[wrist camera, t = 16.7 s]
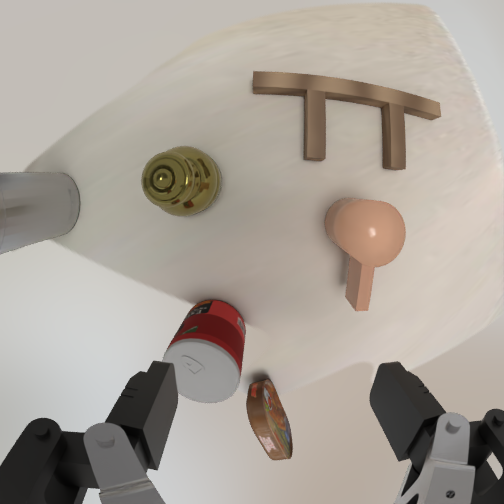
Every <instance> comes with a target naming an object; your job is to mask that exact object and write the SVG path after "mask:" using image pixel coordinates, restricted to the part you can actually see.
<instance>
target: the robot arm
mask: <svg viewBox="0 0 504 504" xmlns="http://www.w3.org/2000/svg"><path fill="white" fill-rule="evenodd" d="M79 205H80V201H79V194H78V190H77V187H76V185H75V183H74V181H73V180H72V179H71V178H70V177H69V176H68V175H66V174H64V173H45V172H12V173H10V172H9V173H0V254H3V253H6V252H9V251H12V250H15V249H18V248H21V247H24V246H27V245H31V244H34V243H37V242H40V241H44V240H47V239H51V238H54V237H57V236H61V235H64V234H66V233H68V232H69V231H70V230H71V229H72V228H73V226H74V225H75V223H76V220H77V218H78V214H79ZM177 404H178V390H177V383H176V376H175V368H174V364H173V363H168V362H160V361H153V362H152V364H151V366H150V368H149V369H148V371H147V372H141V371H140V372H138V373H137V374H136V375H134V376H133V377H131V378H130V380H129V381H128V383H127V385H126V386H125V389H124V390H123V392H122V393H121V396H120V397H119V398H118V400H117V402H116V404H115V405H114V407H113V409H112V410H111V412H110V414H109V416H108V418H107V419H106V421H105V423H98V424H95V425H93V426H91V427H90V428H88V429H87V431H86V432H85V433H79V432H66V431H62V430H61V429H60V427H59V425H58V424H57V423H56V422H55V421H54V420H51V419H48V418H39V419H35V420H33V421H31V422H30V423H29V424H28V425H27V427H26V428H25V429H24V431H23V432H22V434H21V435H20V437H19V438H18V440H17V441H16V443H15V444H14V446H13V447H12V449H11V450H10V452H9V453H8V455H7V456H6V458H5V460H4V461H3V463H2V464H1V466H0V504H82V503H83V500H84V497H85V494H86V492H87V489H88V488H96V489H100V491H101V493H99V497H100V500H101V503H102V504H165V502H164V501H163V499H162V498H161V496H160V494H159V493H158V491H157V490H156V488H155V486H154V485H153V483H152V482H151V481H150V480H149V478H148V476H147V475H146V472H147V469H154V470H158V467H159V464H160V461H161V457H162V454H163V451H164V447H165V444H166V441H167V438H168V434H169V431H170V428H171V425H172V421H173V418H174V415H175V412H176V408H177ZM370 405H371V407H372V409H373V411H374V413H375V415H376V417H377V419H378V421H379V423H380V425H381V427H382V429H383V431H384V433H385V435H386V437H387V439H388V441H389V443H390V445H391V447H392V449H393V451H394V453H395V455H396V457H397V459H398V461H402V460H406V459H409V458H410V460H411V463H410V465H409V466H408V469H407V472H406V475H405V477H404V480H403V483H402V486H401V488H400V491H399V493H398V496H397V498H396V501H395V503H394V504H504V411H503V410H500V409H492V410H489V411H488V412H487V413H486V415H485V417H484V418H483V420H482V421H473V422H468V420H467V419H466V418H465V417H464V416H462V415H460V414H458V413H446V411H445V410H444V409H443V408H442V406H441V405H440V404H439V403H438V401H437V400H436V399H435V397H434V396H433V395H432V394H431V393H429V390H428V389H427V388H426V387H424V384H423V383H422V381H421V380H420V379H419V378H418V377H417V376H415V375H414V374H412V373H411V372H409V371H408V372H407V371H406V370H405V368H404V367H403V366H402V365H401V363H400V362H398V361H397V362H390V363H382V364H380V366H379V368H378V371H377V374H376V377H375V380H374V383H373V386H372V389H371V392H370ZM492 452H493V453H494V455H495V456H496V458H497V459H498V461H499V463H500V464H501V466H502V468H503V474H502V476H501V478H500V479H499V480H498V479H497V477H496V475H495V473H494V472H493V470H492V469H491V467H490V465H489V464H488V462H487V461H486V460H487V458H488V457H489V456H490V455H491V453H492Z"/></svg>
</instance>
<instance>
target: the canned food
mask: <svg viewBox="0 0 504 504" xmlns="http://www.w3.org/2000/svg"><path fill="white" fill-rule="evenodd" d="M245 334H246V330H245V324H244V321H243V319H242V317H241V316H240V314H239V313H238V312H237V310H236V309H234V308H233V307H232V306H231V305H229V304H227V303H225V302H222V301H218V300H208V301H204V302H201V303H198V304H197V305H195V306H194V307H193V308H192V309H191V310H190V311H189V313H188V314H187V316H186V318H185V319H184V321H183V323H182V324H181V326H180V328H179V330H178V331H177V333H176V334H175V336H174V338H173V340H172V341H171V343H170V345H169V346H168V348H167V350H166V352H165V354H164V357H163V360H162V362H168V363H173V364H174V368H175V376H176V383H177V390H178V393H179V394H181V395H182V396H184V397H186V398H188V399H191V400H193V401H197V402H201V403H217V402H221V401H224V400H226V399H228V398H229V397H231V396H232V395H233V394H234V393H235V392H236V390H237V388H238V385H239V383H240V376H241V370H242V360H243V351H244V343H245Z"/></svg>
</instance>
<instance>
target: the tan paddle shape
mask: <svg viewBox="0 0 504 504" xmlns="http://www.w3.org/2000/svg"><path fill="white" fill-rule="evenodd" d="M325 229H326V232H327V235H328V236H329V238H330V239H331V240H332V241H333V242H334V243H335V244H336V245H338V246H339V247H340V248H342V249H343V250H344V251H346V252H347V253H348V254H350V260H349V269H348V278H347V287H346V294H345V297H346V299H347V300H348V301H349V303H350V304H351V305H352V307H353V308H354V309H355V311H368V308H369V302H370V296H371V289H372V283H373V275H374V268H375V267H380V266H384V265H386V264H388V263H390V262H391V261H393V260H394V259H395V258H396V257H397V256H398V254H399V253H400V251H401V249H402V247H403V245H404V241H405V224H404V221H403V218H402V216H401V214H400V213H399V212H398V210H397V209H396V208H395V207H393V206H392V205H390V204H389V203H386V202H382V201H374V200H365V199H355V198H344V199H341V200H338V201H337V202H335V203H334V204H333V205H332V206H331V207H330V208H329V210H328V212H327V214H326V218H325Z"/></svg>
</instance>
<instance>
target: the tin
mask: <svg viewBox="0 0 504 504" xmlns="http://www.w3.org/2000/svg"><path fill="white" fill-rule="evenodd" d="M246 406H247V414H248V418H249V422H250V425H251V427H252V429H253V431H254V433H255V434H256V436H257V438H258V440H259V441H260V443H261V445H262V446H263V448H264V450H265V451H266V453H267V454H268V456H269V457H270V458H271V459H272V460H282V459H290V458H291V457H292V450H293V446H292V436H291V429H290V425H289V421H288V419H287V416H286V414H285V411H284V409H283V407H282V404H281V402H280V400H279V397H278V395H277V392H276V390H275V388H274V386H273V384H272V382H271V381H270V380H268V379H267V380H265V381H260V382H255V383H252V384H250V385H249V390H248V396H247V403H246Z"/></svg>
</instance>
